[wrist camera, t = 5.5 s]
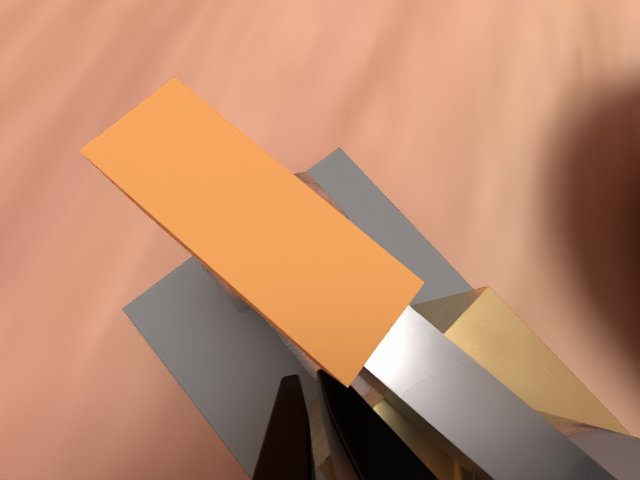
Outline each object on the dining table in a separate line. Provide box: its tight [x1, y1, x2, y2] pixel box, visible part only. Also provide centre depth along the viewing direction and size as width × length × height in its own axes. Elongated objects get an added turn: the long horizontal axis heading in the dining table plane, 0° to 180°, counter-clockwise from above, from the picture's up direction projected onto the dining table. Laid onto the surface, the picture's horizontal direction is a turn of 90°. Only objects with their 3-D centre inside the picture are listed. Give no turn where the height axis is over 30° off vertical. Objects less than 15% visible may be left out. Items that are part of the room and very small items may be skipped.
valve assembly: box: [123, 147, 632, 480], centre depth 11 cm, size 22×12×8 cm, turn 41°
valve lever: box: [80, 77, 640, 480], centre depth 7 cm, size 12×3×3 cm, turn 50°
